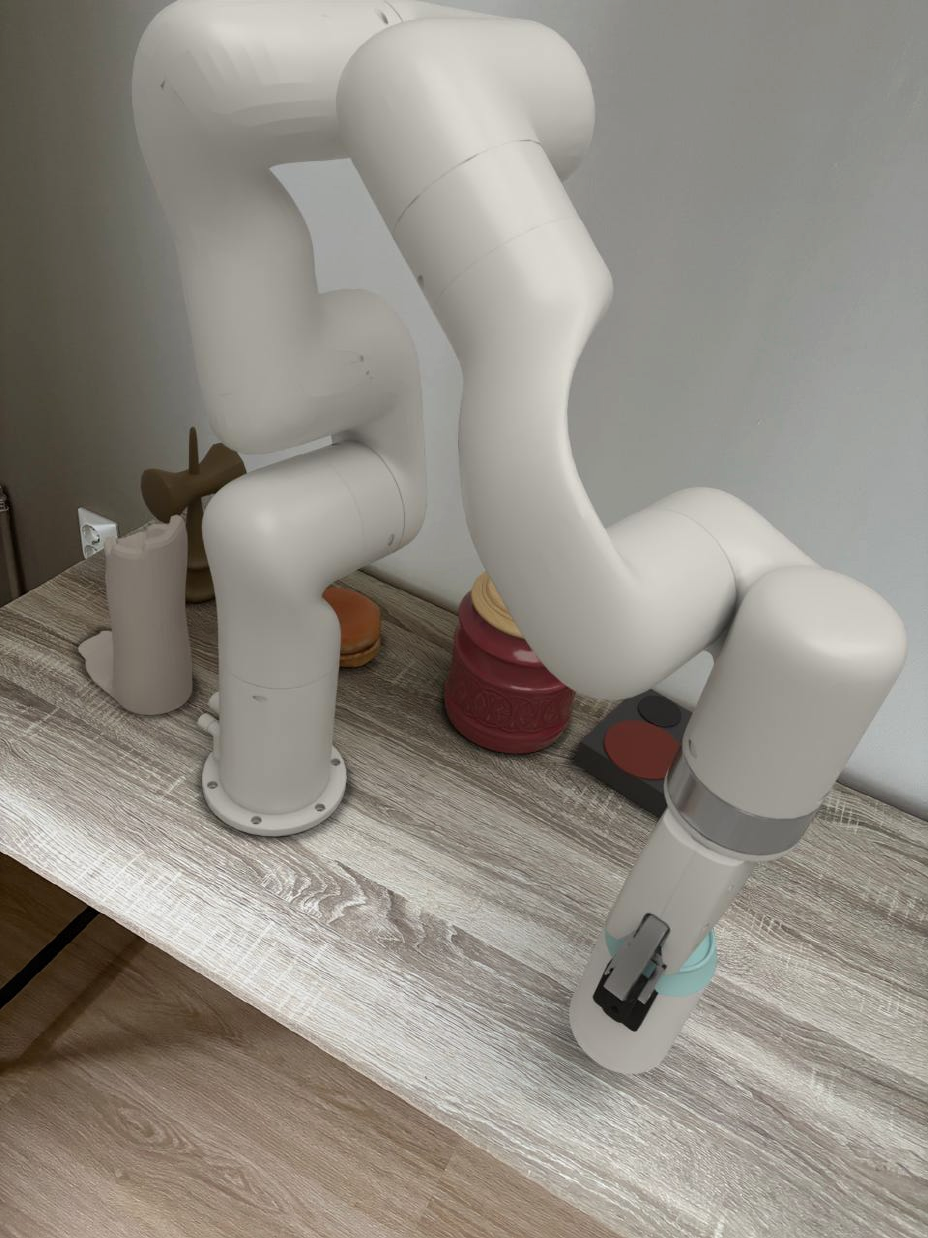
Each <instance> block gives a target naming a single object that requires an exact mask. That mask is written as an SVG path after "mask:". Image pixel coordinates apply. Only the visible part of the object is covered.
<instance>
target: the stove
mask: <svg viewBox="0 0 928 1238" xmlns="http://www.w3.org/2000/svg"><path fill="white" fill-rule="evenodd" d="M647 696H661V697H664V698H667V699H669V700H671V699H670V698H668V697H666V696H665V695H663V694H661V693H660V692H658V691H656V690H654V689H652V688H651V689H649V690H648V691H646V692H644V693H641V694H639V695H637V696H634V697H631V698H626V699H623V700H622V701H621V702H620V703H619V704H618V705H617V706H616V707H615V708H613V710H612V711H610V713H608V714H607V715H606V716H605V717H604V718H603V719H602V720H601V721H600V722H599V723H598V724H597V725H595V727H594V728H593V729H591V731H589V732H588V733H587V734H586V735H585V736H584V737H583V738H582V739H581V740H580V741H579V744H578V747H577V750H576V753H575V757H574V760H573V764H575V765H576V766H578V767H579V768H581V769H582V770H584V771H585V772H587V773H589V774H590V775H591V776H594V777H595V778H596V779H598V780H599V781H601V782H603V783H604V784H606V785H608V786H609V787H610V788H612V789H613V790H615V791H616V792H618V793H620V794H621V795H623V796H624V797H626V798H627V799H629V800H631V801H632V802H634V803H635V804H637V805H639V807H641V808H643V809H645V810H646V811H648V812H650V813H651V814H652V815H654V816H656V818H658V819H660V818H661V816H662V815H663V813H664V811H665V810H666V808H667V807H668V805H667V802H666V798H665V794H664V780H665V779H661V780H647V779H642V778H638V777H635V776H632V775H630V774H628V773H626V772H624V771H623V770H621V769H620V768H618V767H617V766H616V765H615V764H614V763H613V762H612V761H611V760H610V758H609V757H608V755H607V753H606V751H605V747H604V738H605V735H606V733H607V731H608V730H609V729H610V728H611V727H612V726H614V725H615V724H617V723H620V722H624V721H642V722H646V723H649V722H647V721H646V720H645V719H644V718H643V717H642V716H641V715H640V713H639V711H638V704H639V702H640V700H641V699H643V698H644V697H647ZM671 701H672V702H674V703H675V704H676V705H677V706H678V707H679V709H680V710H681V714H682V718H681V720H680V722H679V723H678V724H677V725H675V726H673V727H659V726H658V727H659V728H661V729H663V730H665V731H666V732H667V733H669V734H670V735H671V736H672V737H673V738H674V739H675V740H676V741H677V743H678V744H680V742H681V739H682V737H683V735H684V733H685V730H686V727H687V725H688V723H689V721H690V718H691V716H692V714H693V711H691V710H688V709H687V708H685V707H683V706H682V705H680V704H678V703H676V702H675V701H673V700H671ZM650 724H651V723H650Z"/></svg>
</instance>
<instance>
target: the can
mask: <svg viewBox="0 0 928 1238" xmlns="http://www.w3.org/2000/svg"><path fill="white" fill-rule="evenodd" d="M714 928H715V927H714ZM714 928H713V929H712V930H711V931H710V933H709V934H708V935H707V936H706V938H705V939H704V940H703V941H702V943H701V944H700V945H699V946H698V948H697V949H696V950H695V951H694V953H693V954H692V955H691V956H690V958H689V959H688V960H687V961H686V962H685V964H684V965H683V966H682V967H681V968H680V970H679V971H678V972H677V973H675V974H670V975H665V974H664V975H663V977H662V978H661V980H660V982H659V983H658V985H657V986H656V988H655V989H656V991H657V992H658V995H657V997H656V999H655V1001H654V1002H653V1004H652V1006H651V1008H650V1010H649V1012H648V1013H647V1015H646V1017H645V1019H644V1021H643V1023H642V1024H641V1026H640V1027H639V1029H638V1030H637V1031H636V1032H633V1031H631V1030H630V1029H628V1028H627V1027H626V1026H624V1025H623V1024H622V1023H618V1022H616V1021H614V1020H613V1019H611V1018H610V1017H609V1016H608V1015H607V1014H605V1012H604V1011H603V1009H602V1008H601V1007H600V1006H599V1005H598V1004H596V1003H595V1002H594V1000H593V994H594V992H595V990H596V988H597V986H598V984H599V982H600V979H601V977H602V975H603V973H604V971H605V969H606V967H607V964H608V963H609V962H610V960H611V959H612V958H614V956H615V954H616V953H617V951H618V949H619V948H620V946H621V944H622V942H623V941H624V939H625V937H624V938H622V939H620V940H616V939H615V938H614V937H612V936H611V935H610V934H609V933H607V932H606V929H605V923H604V924H603V926H602V928H601V930H600V934H599V936H598V938H597V940H596V942H595V945H594V947H593V948H592V951H591V954H590V956H589V958H588V960H587V963H586V965H585V967H584V969H583V972H582V974H581V976H580V979H579V981H578V983H577V985H576V988H575V990H574V993H573V994H572V997H571V999H570V1002H569V1009H568V1017H569V1025H570V1029H571V1031H572V1035H573V1036H574V1039H575V1040H576V1042H577V1044H578V1045H579V1047H580V1048H581V1049H582V1050H583V1052H584V1053H585V1054H586V1055H587V1056H588V1057H589V1058H590V1059H592V1061H594V1062H595V1063H597V1064H598V1065H600V1066H601V1067H603V1068H605V1069H607V1070H610V1071H612V1072H615V1073H619V1074H626V1075H636V1074H637V1075H638V1074H644V1073H646V1072H648V1071H651V1070H653V1069H654V1068H656V1067H658V1065H660V1064H661V1063H662V1062H663V1060H664V1059H665V1058H666V1057H667V1054H668V1053H669V1051H670V1050H671V1049H672V1046H673V1045H674V1043H675V1042H676V1040H677V1038H678V1036H679V1034H680V1033H681V1031H682V1029H683V1028H684V1027H685V1024H686V1023H687V1021H688V1020H689V1018H690V1016H691V1014H692V1013H693V1011H694V1010H695V1008H696V1006H697V1005H698V1003H699V1001H700V1000H701V998H702V996H703V995H704V993H705V991H706V989H707V988H708V986H709V985H710V983H711V981H712V980H713V978H714V975H715V974H716V970H717V966H718V948H717V943H716V942H717V938H716V931H715V929H714ZM664 942H665V940H663V941H662V942H661V944H660V946H663V944H664ZM655 967H656V964H655V963H654V962H652V961H651V960H650V961H649V962H648V964H647V966H646V967H645V969H644V970H643V972H642V974H643V975H645V976H646V977H647V978H649V977H650V975H651V974H652V972H653V970H654V969H655Z"/></svg>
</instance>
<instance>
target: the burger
mask: <svg viewBox="0 0 928 1238" xmlns="http://www.w3.org/2000/svg"><path fill="white" fill-rule="evenodd" d="M322 598H323V599H325V600H326V601H327V602H328V604H329V605H330V606H331V607H332V608H333V610H334V611H335V613H336V615H337V617H338V620H339V623H340V629H341V646H340V661H339V668H340V667H342V668H350V667H351V668H359V667H361V666H364V665H366V664H368V663H369V662H371V661H372V660H374V659H375V658H376V656H377V655H378V653H379V651H380V649H381V644H382V638H381V632H382V613H381V609H380V608H379V606H378V604H377V603H375V602H374V601H373V600H372V599H371V598H370V597H368V596H366V595H364V594H362V593H360V592H357V591H356V590H352V589H348V588H343V587H327V588H326V589H325V590H324V592H323V593H322Z"/></svg>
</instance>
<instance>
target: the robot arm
mask: <svg viewBox="0 0 928 1238" xmlns="http://www.w3.org/2000/svg"><path fill="white" fill-rule="evenodd" d="M595 101H596V100H595V97H594V91H593V86H592V83H591V80H590V77H589V75H588V72H587V69H586V67H585V65H584V64H583V62H582V60H581V58H580V57H579V54H578V53H577V51H576V50H575V49H574V48H573V47H572V46H571V45H570V43H569V42H568V41H567V40H566V39H565V38H564V37H563V36H561V34H559V33H558V32H557V31H555V29H552V28H550V27H548V26H547V25H545V24H543V23H541V22H539V21H535V20H532V19H526V18H525V19H524V18H516V17H508V16H507V17H506V16H502V15H495V14H489V13H484V12H478V11H473V10H469V9H463V8H458V7H452V6H448V5H443V4H439V3H438V4H437V3H432V2H427V1H422V0H175V1H174V2H172V3H170V4H169V5H167V6H165V7H164V8H163V9H162V10H160V11H159V12H158V13H157V14H156V15H155V16H154V17H153V18H152V19H151V20H150V22H149V23H148V25H147V26H146V27H145V30H144V32H143V33H142V36H141V38H140V40H139V43H138V46H137V49H136V53H135V56H134V61H133V66H132V75H131V105H132V113H133V121H134V127H135V132H136V137H137V140H138V145H139V148H140V152H141V155H142V158H143V161H144V164H145V167H146V169H147V172H148V175H149V177H150V180H151V183H152V185H153V187H154V191H155V193H156V195H157V197H158V201H159V203H160V205H161V207H162V210H163V213H164V215H165V218H166V221H167V225H168V227H169V230H170V234H171V236H172V240H173V245H174V248H175V253H176V258H177V261H178V269H179V277H180V283H181V289H182V295H183V301H184V306H185V313H186V318H187V325H188V329H189V335H190V342H191V347H192V353H193V358H194V365H195V370H196V376H197V381H198V386H199V390H200V391H199V392H200V396H201V400H202V404H203V409H204V412H205V415H206V419H207V420H208V423H209V425H210V426H209V427H211V428H210V429H211V430H212V431H213V433H214V435H215V436H216V438H217V439H218V441H219V442H220V443H223V444H224V445H225V446H226V447H228V448H229V449H231V450H233V451H235V452H237V453H238V454H239V453H240V454H243V455H249V456H250V455H252V456H253V455H257V456H258V455H268V454H271V453H272V454H273V453H276V452H281V451H285V450H289V449H292V448H296V447H299V446H302V445H305V444H309V443H312V442H315V441H318V440H320V439H323V438H327V437H329V436H330V437H331V444H327V445H325V446H321V447H320V448H319V447H318V448H317V449H314V450H311V451H308V452H305V453H301V454H300V453H299V454H297V455H293V456H290V457H288V458H285V459H282V460H280V461H279V460H278V461H276V462H274V463H271V464H268V465H265V466H262V467H259V468H256V469H254V470H252V471H249V472H247V473H246V474H244V475H242V476H240V477H238V478H236V479H235V480H233V481H231V482H229V483H228V484H226V485H225V486H224V487H222V488H221V489H220V490H219V491H218V492H217V493H216V494H213V496H212V497H211V499H210V500H209V501H208V503H207V505H206V507H205V509H204V510H203V519H202V536H203V542H204V548H205V552H206V556H207V560H208V564H209V567H210V571H211V576H212V580H213V585H214V591H215V596H214V597H215V605H216V615H217V617H216V618H217V648H218V649H217V650H218V691H216V692H214V693H213V694H212V695H211V696H210V698H209V699H208V701H207V706H208V709H210V710H211V711H212V712H214V713H215V714H217V715H218V716H219V718H218V719H219V721H218V719H216V718H215V717H214V716H212V715H211V714H209V713H207V712H205V713H203V714H201V715H200V717H199V718H198V719H197V722H196V724H197V726H198V727H199V728H200V729H202V730H203V731H204V732H206V733H207V734H209V735H211V736H212V750H211V752H210V753H208V756H207V758H206V760H205V762H204V763H203V768H202V773H201V788H202V793H203V797H204V800H205V802H206V804H207V806H208V807H209V809H210V810H211V811H212V812H213V814H214V815H215V816H216V817H217V818H218V819H220V820H221V821H222V822H223V823H224V824H226V825H228V826H230V827H232V828H233V829H235V830H238V831H241V832H244V833H246V834H249V835H256V836H261V837H282V836H290V835H295V834H299V833H302V832H305V831H308V830H311V829H312V828H314V827H316V826H319V825H320V824H321V823H323V822H324V821H326V820H327V819H328V818H329V817H330V816H331V815H332V814H333V813H334V812H335V811H336V810H337V809H338V807H339V806H340V804H341V802H342V800H343V798H344V796H345V792H346V787H347V780H348V778H347V776H348V775H347V767H346V764H345V760H344V758H343V757H342V755H341V753H340V752H339V750H338V749H337V747H336V746H334V745H333V740H334V739H333V738H334V729H335V718H336V705H337V703H336V702H337V693H338V682H339V672H340V671H339V670H340V667H339V661H340V646H341V629H340V623H339V620H338V617H337V615H336V613H335V611H334V610H333V608H332V607H331V606H330V605H329V604H328V602H327V601H326V600H325V599H323V598H322V593H323V592H324V590H325V589H326V588H329V586H330V585H332V584H333V583H335V582H337V581H339V580H341V579H343V578H345V577H348V576H349V575H351V574H353V573H354V572H356V571H358V570H360V569H362V568H365V567H367V566H369V565H371V564H373V563H375V562H378V561H379V560H381V559H384V558H386V557H387V556H390V555H392V554H394V553H396V552H398V551H399V550H401V549H403V548H405V547H406V546H408V545H409V544H410V543H412V541H413V540H414V539H416V537H417V536H418V535H419V533H420V531H421V529H422V527H423V525H424V522H425V519H426V516H427V515H426V513H427V508H428V474H427V473H428V472H427V458H426V457H427V456H426V439H425V424H424V422H425V421H424V408H423V407H424V406H423V387H422V378H421V367H420V362H419V357H418V353H417V349H416V346H415V343H414V341H413V338H412V335H411V333H410V331H409V328H408V326H407V324H406V323H405V321H404V319H403V318H402V316H401V315H400V313H399V312H398V311H397V310H396V308H395V307H394V306H393V305H392V304H391V303H390V302H388V300H386V299H384V297H382V296H381V295H379V294H377V293H376V292H375V293H374V292H372V291H370V290H366V289H362V288H341V289H335V290H329V291H325V292H320V293H319V288H318V280H317V274H316V261H315V250H314V244H313V239H312V236H311V232H310V229H309V227H308V224H307V222H306V219H305V218H304V215H303V214H302V211H301V210H300V208H299V207H298V205H297V204H296V201H295V200H294V198H293V197H292V195H291V194H290V192H289V191H288V189H287V188H286V186H285V185H284V184H283V183H282V182H281V180H279V178H278V177H277V176H276V175H275V173H273V171H272V170H271V168H273V167H276V166H280V165H287V164H294V163H308V162H309V163H310V162H327V161H333V160H335V161H336V160H344V159H345V160H346V159H350V160H351V163H352V165H353V167H354V168H355V170H356V172H357V173H358V175H359V177H360V179H361V181H362V182H363V185H364V187H365V189H366V190H367V192H368V194H369V197H370V198H371V200H372V202H373V205H374V206H375V208H376V210H377V212H378V213H379V215H380V216H381V219H382V220H383V222H384V225H385V226H386V228H387V231H389V233H390V235H391V237H392V239H393V241H394V243H395V244H396V246H397V248H398V250H399V252H400V254H401V256H402V257H403V259H404V261H405V263H406V265H407V267H408V269H409V270H410V272H411V274H412V276H413V278H414V280H415V282H416V284H417V285H418V287H419V289H420V290H421V293H422V294H423V296H424V298H425V300H426V303H427V304H428V305H429V307H430V309H431V310H432V314H433V315H434V317H435V319H436V320H437V322H438V324H439V326H440V328H441V329H442V332H443V333H444V335H445V337H446V339H447V340H448V342H449V344H450V346H451V348H452V350H453V351H454V354H455V356H456V358H457V360H458V362H459V365H460V369H461V372H462V380H463V383H462V394H461V401H460V408H459V414H458V415H459V416H458V426H457V427H458V428H457V454H458V455H457V456H458V457H457V459H458V471H459V472H458V473H459V482H460V484H459V485H460V493H461V501H462V508H463V514H464V518H465V523H466V526H467V529H468V532H469V535H470V538H471V541H472V544H473V547H474V549H475V551H476V553H477V555H478V558H479V560H480V562H481V564H482V566H483V568H484V570H485V571H486V572H487V574H488V576H489V577H490V579H491V581H492V583H493V585H494V587H495V588H496V590H497V592H498V594H499V596H500V598H501V599H502V601H503V603H504V605H505V607H506V609H507V610H508V612H509V614H510V616H511V617H512V619H513V621H514V622H515V624H516V626H517V627H518V629H519V631H520V633H521V634H522V636H523V637H524V639H525V640H526V642H527V643H528V645H529V646H530V648H531V649H532V651H533V652H534V653H535V655H536V656H537V657H538V658H539V660H540V661H541V662H542V663H543V664H544V666H545V667H546V668H547V669H548V670H549V671H550V672H551V673H552V674H553V675H554V676H555V677H556V678H557V679H559V680H560V681H561V682H562V683H563V684H565V685H566V686H568V687H569V688H571V689H572V690H574V691H576V693H577V694H579V695H582V696H585V697H587V698H590V699H593V700H597V701H599V700H600V701H620V700H625V699H626V698H631V697H634V696H637V695H639V694H641V693H644V692H646V691H648V690H649V689H652V688H654V687H656V686H657V685H660V683H662V682H663V681H665V680H666V679H667V678H669V677H670V676H671V675H672V674H674V673H675V672H677V671H678V670H679V669H681V668H682V667H683V666H685V665H686V664H687V663H688V662H690V661H691V660H692V659H694V658H695V657H696V656H698V655H699V654H700V653H702V652H703V651H704V652H707V653H709V654H710V655H711V657H712V660H713V666H712V668H711V670H710V673H709V675H708V677H707V680H706V682H705V684H704V687H703V688H702V690H701V693H700V695H699V698H698V700H697V702H696V705H695V707H694V709H693V711H692V713H693V714H692V716H691V718H690V721H689V723H688V725H687V727H686V730H685V733H684V735H683V737H682V739H681V742H680V744H679V746H678V748H677V751H676V753H675V755H674V758H673V760H672V762H671V764H670V766H669V769H668V771H667V773H666V776H665V780H664V794H665V798H666V802H667V805H668V807H667V808H666V810H665V811H664V813H663V815H662V816H661V818H658V819H659V820H658V821H657V823H656V825H655V826H654V828H653V829H652V831H651V833H650V834H649V836H648V838H647V839H646V841H645V843H644V845H643V847H642V848H641V850H640V852H639V853H638V856H637V857H636V860H635V862H634V864H633V866H632V867H631V869H630V871H629V872H628V875H627V876H626V879H625V881H624V883H623V885H622V887H621V888H620V891H619V892H618V894H617V897H616V898H615V900H614V902H613V904H612V906H611V908H610V910H609V912H608V914H607V916H606V918H605V920H604V924H605V929H606V932H607V933H609V934H610V935H611V936H612V937H614V938H615V939H616V940H620V939H622V938H624V937H625V939H624V941H623V942H622V944H621V946H620V948H619V949H618V951H617V953H616V954H615V956H614V958H612V959H611V960H610V962H609V963H608V964H607V967H606V969H605V971H604V973H603V975H602V977H601V979H600V982H599V984H598V986H597V988H596V990H595V992H594V994H593V1000H594V1002H595V1003H596V1004H598V1005H599V1006H600V1007H601V1008H602V1009H603V1011H604V1012H605V1014H607V1015H608V1016H609V1017H610V1018H611V1019H613V1020H614V1021H616V1022H618V1023H622V1024H623V1025H624V1026H626V1027H627V1028H628V1029H630V1030H631V1031H633V1032H636V1031H637V1030H638V1029H639V1027H640V1026H641V1024H642V1023H643V1021H644V1019H645V1017H646V1015H647V1013H648V1012H649V1010H650V1008H651V1006H652V1004H653V1002H654V1001H655V999H656V997H657V995H658V992H657V991H656V989H655V988H656V986H657V985H658V983H659V982H660V980H661V978H662V977H663V975H664V974H665V975H670V974H675V973H677V972H678V971H679V970H680V968H681V967H682V966H683V965H684V964H685V962H686V961H687V960H688V959H689V958H690V956H691V955H692V954H693V953H694V951H695V950H696V949H697V948H698V946H699V945H700V944H701V943H702V941H703V940H704V939H705V938H706V936H707V935H708V934H709V933H710V931H711V930H712V929H713V928H715V926H716V925H717V924H718V922H719V921H720V920H721V919H722V917H723V916H724V915H725V914H726V912H727V911H728V909H729V908H730V906H731V905H732V904H733V902H734V901H735V900H736V898H737V896H738V895H739V894H740V892H742V890H743V888H744V887H745V885H746V883H747V881H748V880H749V878H751V876H752V874H753V872H754V871H755V869H756V867H757V866H758V865H759V863H765V862H771V861H777V860H779V859H781V858H783V857H786V856H787V855H789V854H791V853H792V852H793V851H794V850H795V849H796V848H797V847H798V845H799V843H800V842H801V840H802V838H803V837H804V835H805V833H806V832H807V830H808V828H809V827H810V825H811V823H812V822H813V820H814V818H815V817H816V815H817V813H818V812H819V810H820V808H821V807H822V806H823V804H824V802H825V800H826V798H827V797H828V795H829V794H830V791H831V790H832V788H833V787H834V785H835V783H836V781H837V780H838V778H839V777H840V775H841V773H842V771H843V770H844V768H845V766H846V765H847V763H848V762H849V760H850V759H851V757H852V755H853V754H854V752H855V750H856V749H857V747H858V745H859V744H860V742H861V741H862V739H863V738H864V735H866V732H867V731H868V729H869V727H870V726H871V724H872V722H873V720H874V719H875V717H876V716H877V714H878V712H879V711H880V709H881V707H882V705H883V704H884V702H885V700H886V699H887V697H888V696H889V694H890V692H891V691H892V689H893V687H894V685H896V682H897V681H898V679H899V677H900V675H901V673H902V671H903V669H904V667H905V665H906V662H907V658H908V650H909V639H908V638H909V637H908V634H907V631H906V627H905V624H904V622H903V620H902V619H901V616H900V615H899V614H898V613H897V611H896V610H895V608H893V606H892V605H891V604H890V603H889V602H888V601H887V600H886V599H885V598H884V597H883V596H881V594H879V593H878V592H876V590H874V589H872V588H871V587H869V586H868V585H866V584H864V583H863V582H861V581H859V580H857V579H855V578H853V577H850V576H848V575H846V574H844V573H841V572H838V571H835V570H832V569H827V568H824V567H823V566H821V565H820V564H818V563H817V562H816V561H815V560H813V558H811V557H810V556H808V554H806V553H805V552H804V551H802V549H800V548H799V547H798V546H796V545H795V544H794V543H793V542H792V541H791V540H790V539H789V538H787V537H786V536H785V535H784V534H783V533H782V532H781V531H779V530H778V529H777V528H776V527H775V526H774V525H773V524H772V523H771V522H770V521H768V520H767V519H766V518H765V517H764V516H762V514H760V513H759V512H758V511H757V510H755V509H754V507H752V506H750V505H749V504H748V503H747V502H745V501H743V500H742V499H740V498H739V497H737V496H735V495H733V494H732V493H729V492H727V491H724V490H721V489H718V488H714V487H710V486H709V487H708V486H693V487H688V488H683V489H680V490H677V491H675V492H672V493H670V494H668V495H666V496H664V497H662V498H660V499H659V500H657V501H654V502H653V503H651V504H650V505H648V506H646V507H644V508H642V509H640V510H638V511H637V512H634V513H631V514H629V515H627V516H626V517H624V518H622V519H620V520H618V521H616V522H615V523H613V524H611V525H609V526H608V527H606V528H605V526H604V524H603V523H602V521H601V518H600V517H599V515H598V514H597V513H598V512H596V509H595V507H594V506H593V504H592V502H591V499H590V498H589V496H588V494H587V491H586V489H585V487H584V484H583V482H582V479H581V478H580V476H579V472H578V469H577V465H576V462H575V459H574V456H573V452H572V451H573V450H572V446H571V439H570V435H569V420H568V419H569V417H568V408H569V397H570V389H571V385H572V382H573V377H574V373H575V371H576V368H577V364H578V362H579V360H580V357H581V355H582V353H583V351H584V349H585V347H586V345H587V343H588V341H589V339H590V337H591V335H592V334H593V333H594V332H595V330H596V329H597V328H598V327H599V325H600V324H601V323H602V321H603V319H604V318H605V316H606V315H607V313H608V311H609V309H610V308H611V304H612V302H613V295H614V282H613V278H612V277H613V276H612V274H611V271H610V270H609V267H608V266H607V264H606V262H605V260H604V259H603V257H602V255H601V254H600V252H599V251H598V248H597V247H596V245H595V243H594V241H593V240H592V237H591V236H590V233H589V232H588V229H587V227H586V226H585V224H584V222H583V221H582V219H581V218H580V216H579V215H578V212H577V210H576V208H575V205H573V202H572V200H571V199H570V197H569V195H568V193H567V191H566V189H565V188H564V186H563V182H566V180H568V179H569V178H570V177H571V176H572V175H573V174H574V173H575V172H576V171H577V170H578V169H579V168H580V167H581V165H582V163H583V162H584V160H585V159H586V157H587V154H588V152H589V149H590V146H591V142H592V140H593V137H594V130H595V122H596V102H595ZM663 940H665V942H664V944H663V946H660V944H661V942H662V941H663ZM650 960H651V961H652V962H654V963H655V964H656V967H655V969H654V970H653V972H652V974H651V975H650V977H649V978H647V977H646V976H645V975H643V974H642V972H643V970H644V969H645V967H646V966H647V964H648V962H649V961H650Z"/></svg>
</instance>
